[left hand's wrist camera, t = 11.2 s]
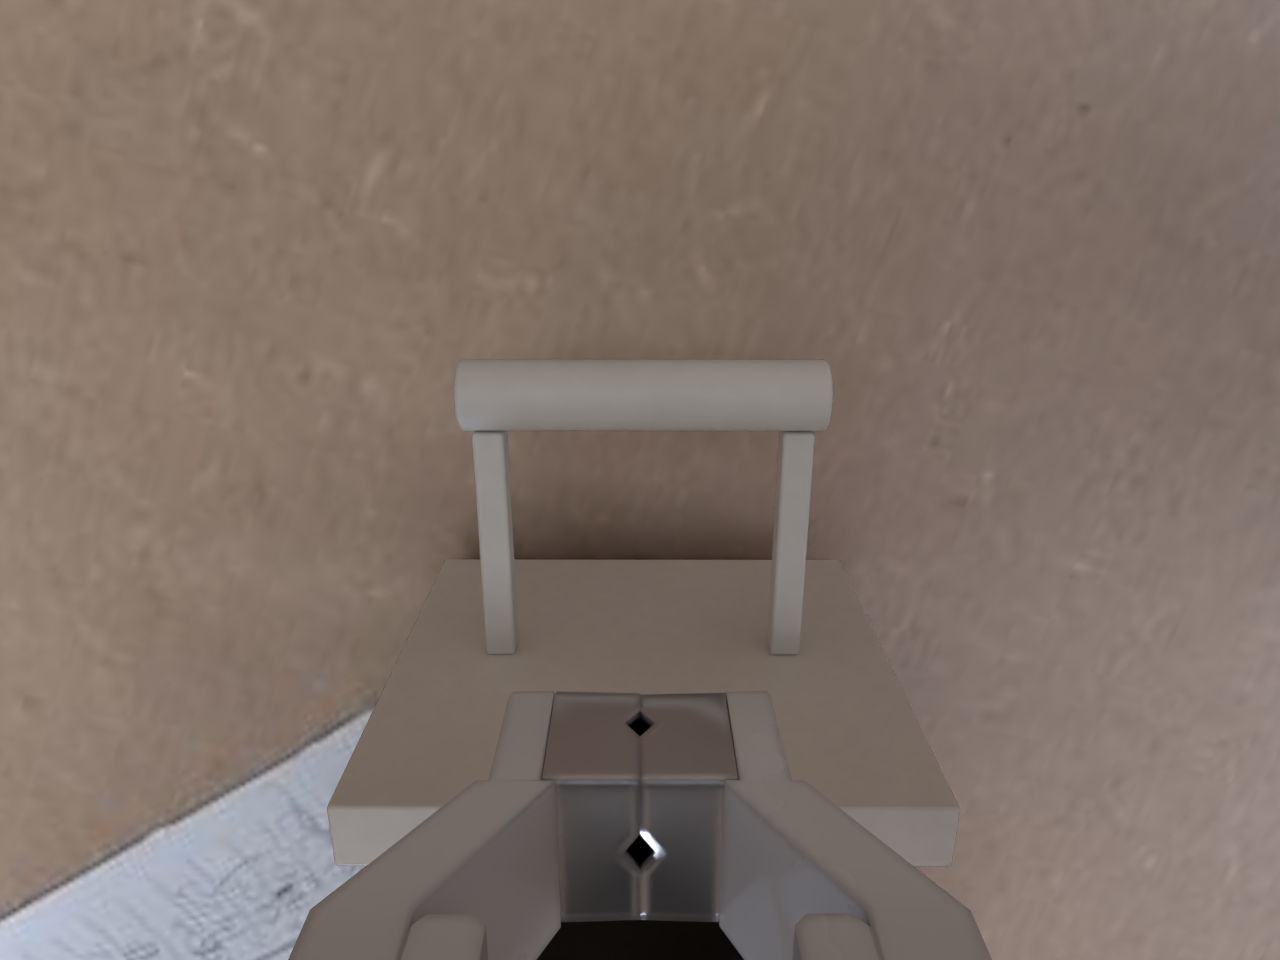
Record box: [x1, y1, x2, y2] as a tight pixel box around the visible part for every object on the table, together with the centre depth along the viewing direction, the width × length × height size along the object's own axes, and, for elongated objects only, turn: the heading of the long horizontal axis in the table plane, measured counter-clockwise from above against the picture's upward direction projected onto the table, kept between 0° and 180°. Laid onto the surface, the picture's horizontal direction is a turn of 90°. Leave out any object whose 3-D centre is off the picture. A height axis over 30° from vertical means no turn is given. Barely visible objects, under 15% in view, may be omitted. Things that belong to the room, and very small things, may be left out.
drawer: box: [327, 359, 960, 960], centre depth 20 cm, size 23×10×9 cm, turn 0°
